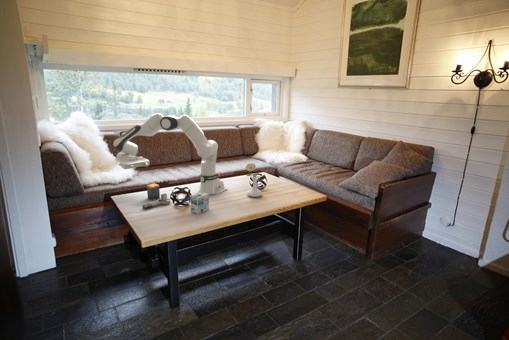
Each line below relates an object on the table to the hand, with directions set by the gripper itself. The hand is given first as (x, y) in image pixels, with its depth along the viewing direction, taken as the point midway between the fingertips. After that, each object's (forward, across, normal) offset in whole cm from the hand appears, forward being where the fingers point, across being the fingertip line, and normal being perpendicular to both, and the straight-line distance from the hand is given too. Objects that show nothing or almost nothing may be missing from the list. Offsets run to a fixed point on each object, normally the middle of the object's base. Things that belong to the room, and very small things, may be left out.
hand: (141, 166), depth 217 cm
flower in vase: (+62, +55, +15) cm, 84 cm away
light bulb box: (+55, +9, +17) cm, 58 cm away
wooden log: (+14, +1, +20) cm, 25 cm away
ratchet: (+27, -5, +19) cm, 34 cm away
